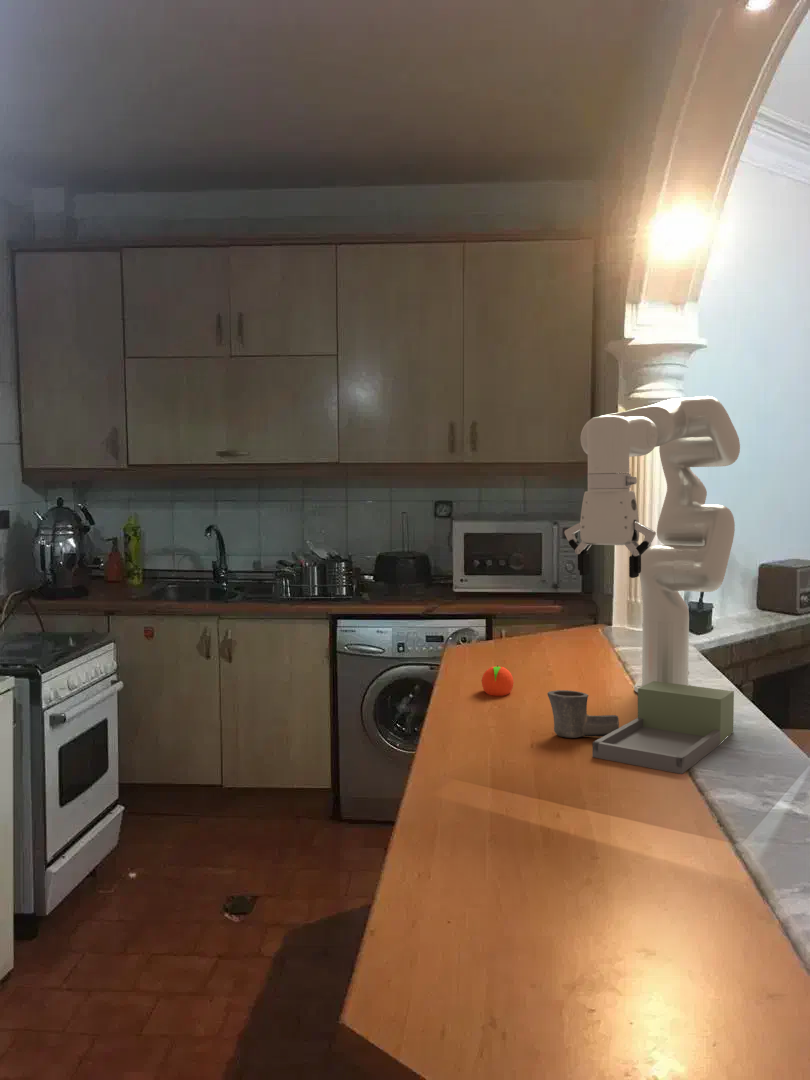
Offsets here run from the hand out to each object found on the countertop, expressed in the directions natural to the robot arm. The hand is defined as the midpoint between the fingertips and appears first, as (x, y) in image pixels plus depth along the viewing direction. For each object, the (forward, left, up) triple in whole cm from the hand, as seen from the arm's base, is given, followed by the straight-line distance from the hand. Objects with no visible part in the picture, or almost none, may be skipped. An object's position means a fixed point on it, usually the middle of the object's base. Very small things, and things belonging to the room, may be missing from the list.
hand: (608, 575), depth 158 cm
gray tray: (+8, +13, -29) cm, 32 cm away
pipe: (+8, -2, -29) cm, 30 cm away
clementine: (-10, -29, -29) cm, 42 cm away
